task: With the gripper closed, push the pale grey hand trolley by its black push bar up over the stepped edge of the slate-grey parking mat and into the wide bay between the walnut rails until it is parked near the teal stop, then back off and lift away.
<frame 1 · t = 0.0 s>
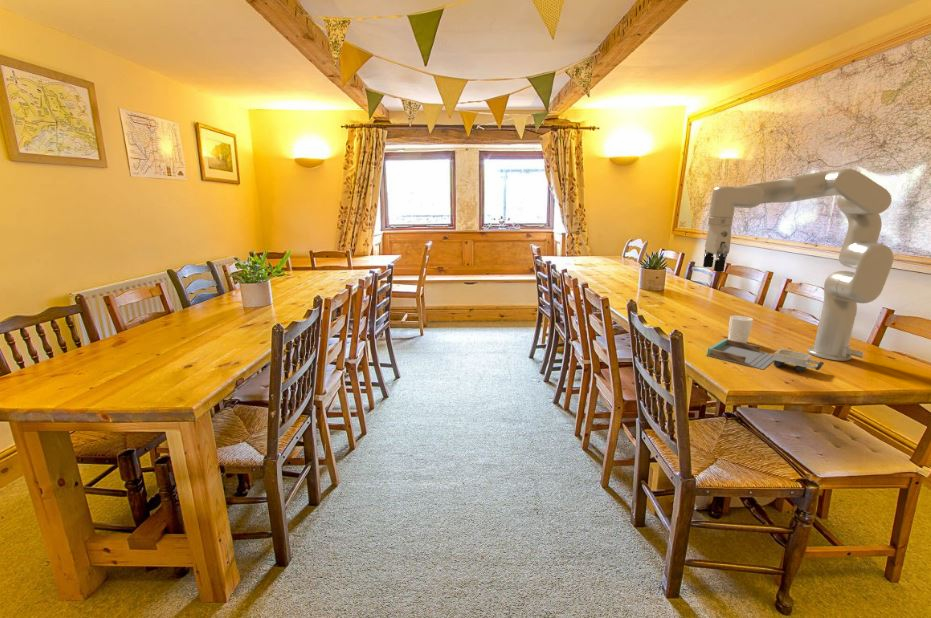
hand: (712, 269, 158), 31 cm above the table, tool pointing down, fingers open, 9 cm apart
trolley: (789, 367, 148), on the table
dock: (742, 356, 158), on the table
white cup: (737, 341, 175), on the table
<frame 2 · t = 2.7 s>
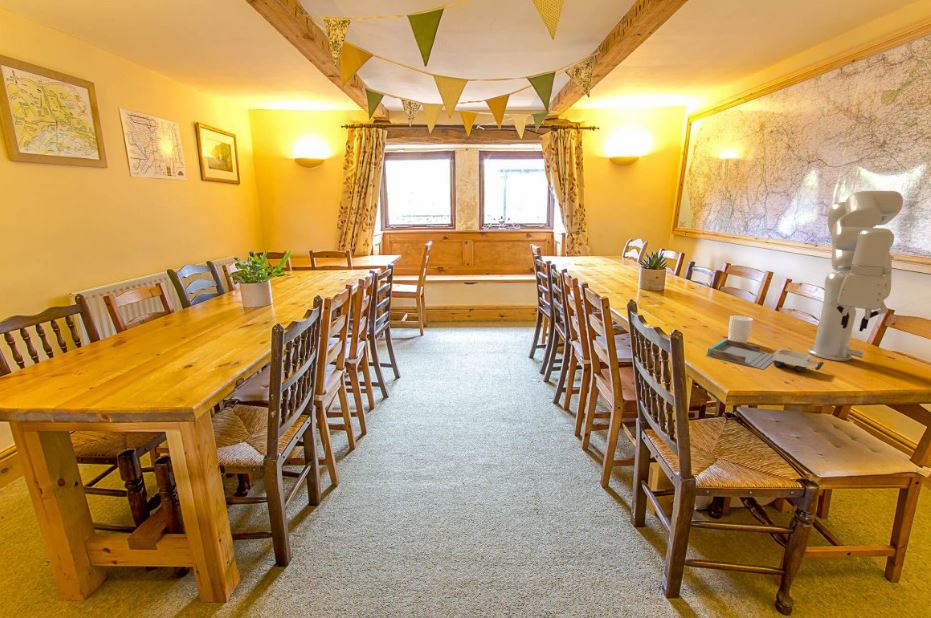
hand: (852, 328, 134), 17 cm above the table, tool pointing down, fingers open, 3 cm apart
nothing on the table moved.
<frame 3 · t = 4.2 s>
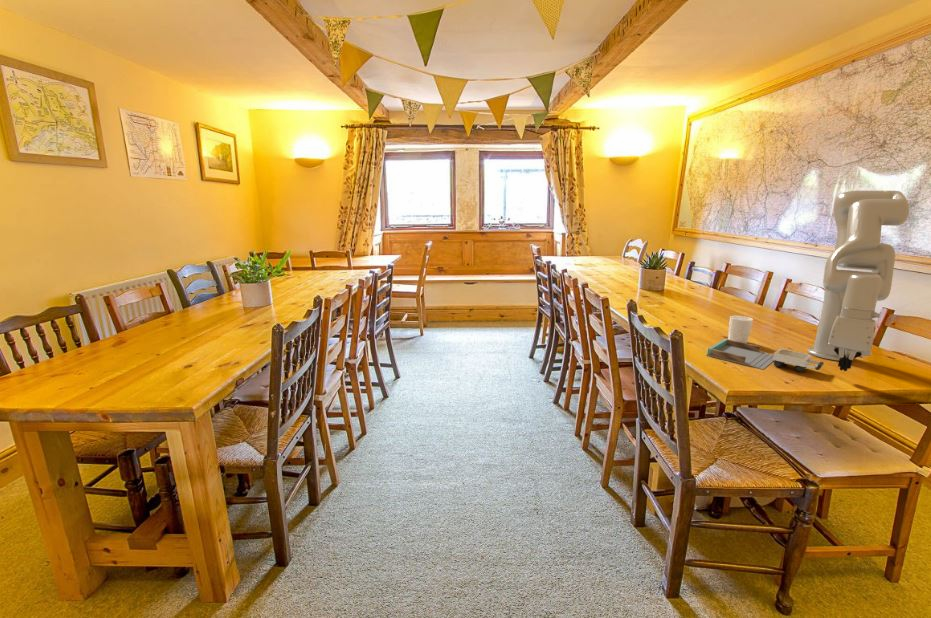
hand: (843, 369, 136), 4 cm above the table, tool pointing down, fingers closed
nothing on the table moved.
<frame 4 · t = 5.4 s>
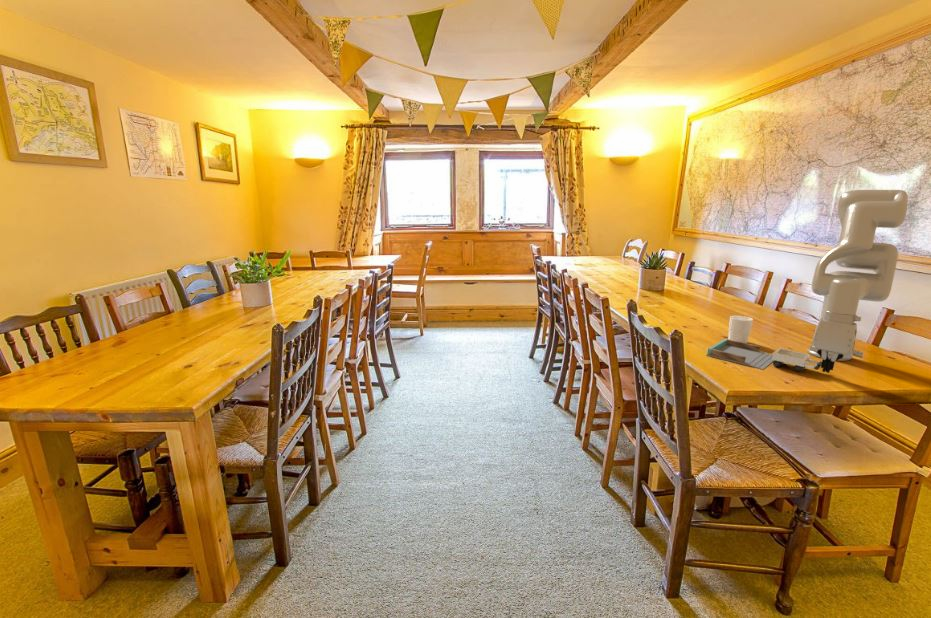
hand: (826, 370, 140), 2 cm above the table, tool pointing down, fingers closed
trolley: (788, 367, 148), on the table, touching gripper
everything else where it was.
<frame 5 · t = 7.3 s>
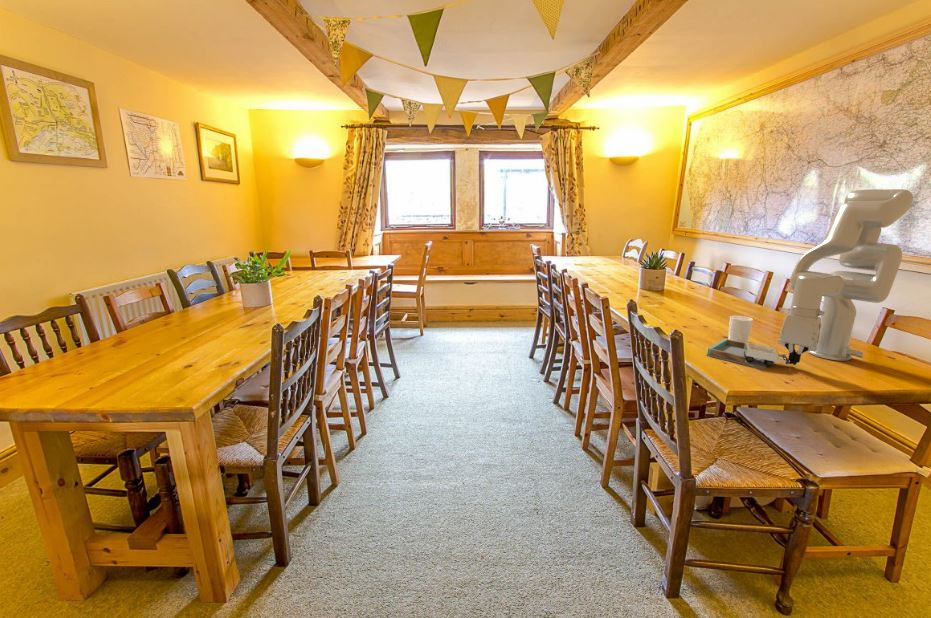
hand: (793, 363, 147), 2 cm above the table, tool pointing down, fingers closed
trolley: (757, 361, 152), on the table, tilted 5°, touching dock
everything else where it was.
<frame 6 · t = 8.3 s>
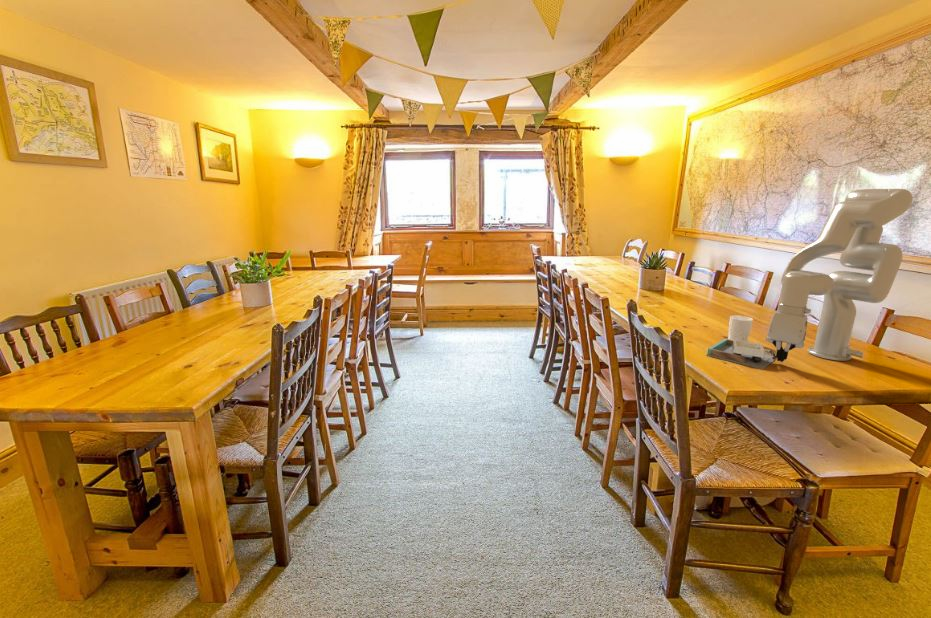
hand: (780, 360, 149), 2 cm above the table, tool pointing down, fingers closed
trolley: (745, 358, 154), point 1 cm above the table, touching dock, gripper
everything else where it was.
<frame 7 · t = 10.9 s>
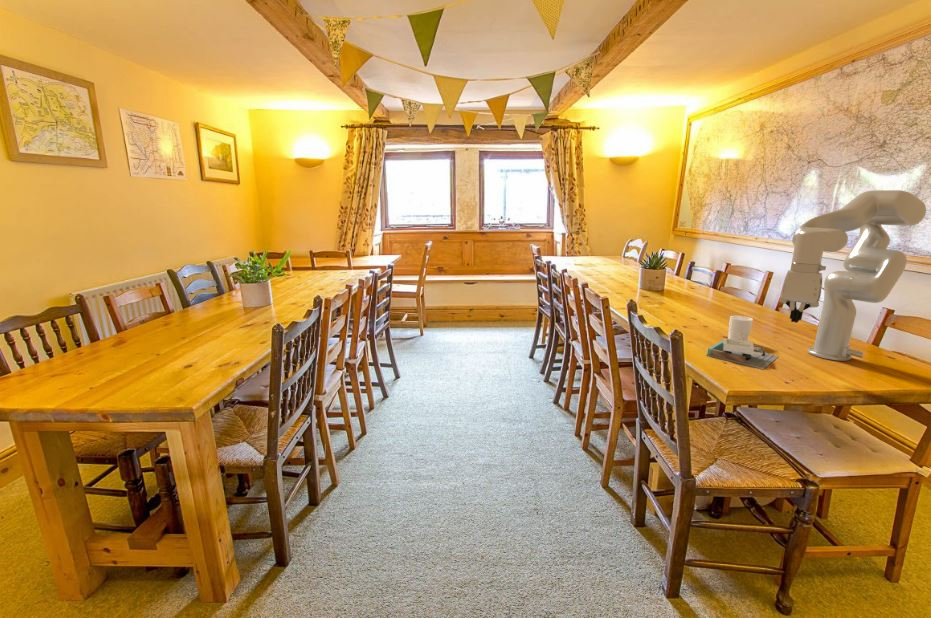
hand: (795, 321, 145), 16 cm above the table, tool pointing down, fingers closed
trolley: (736, 355, 157), point 1 cm above the table, touching dock
everything else where it was.
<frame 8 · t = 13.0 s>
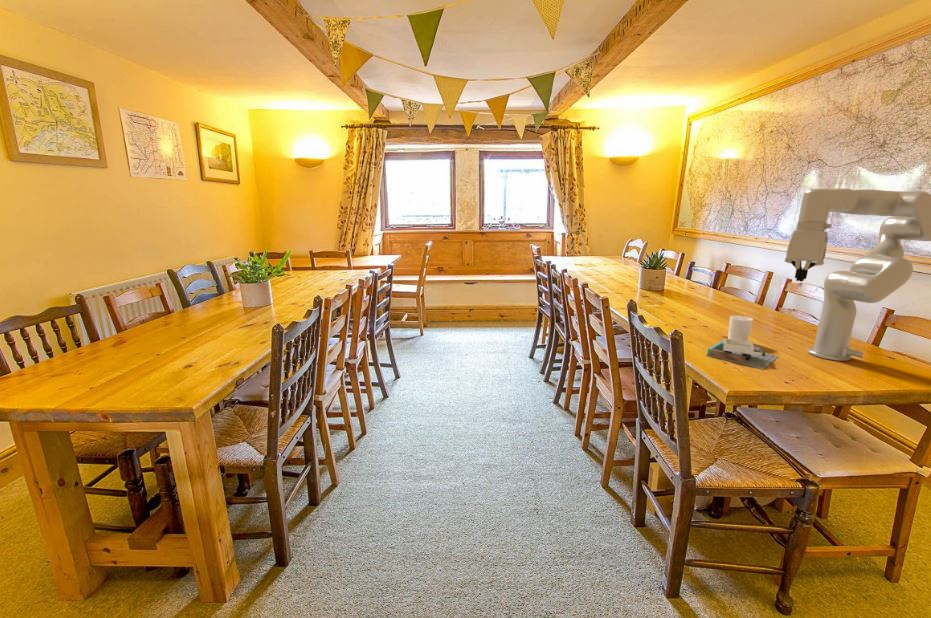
hand: (799, 280, 148), 29 cm above the table, tool pointing down, fingers closed
nothing on the table moved.
at the end: trolley inside the target area on the dock (3.8 cm from its centre), point 0.6 cm above the dock's base; trolley tilted 0°; the gripper is holding nothing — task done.
